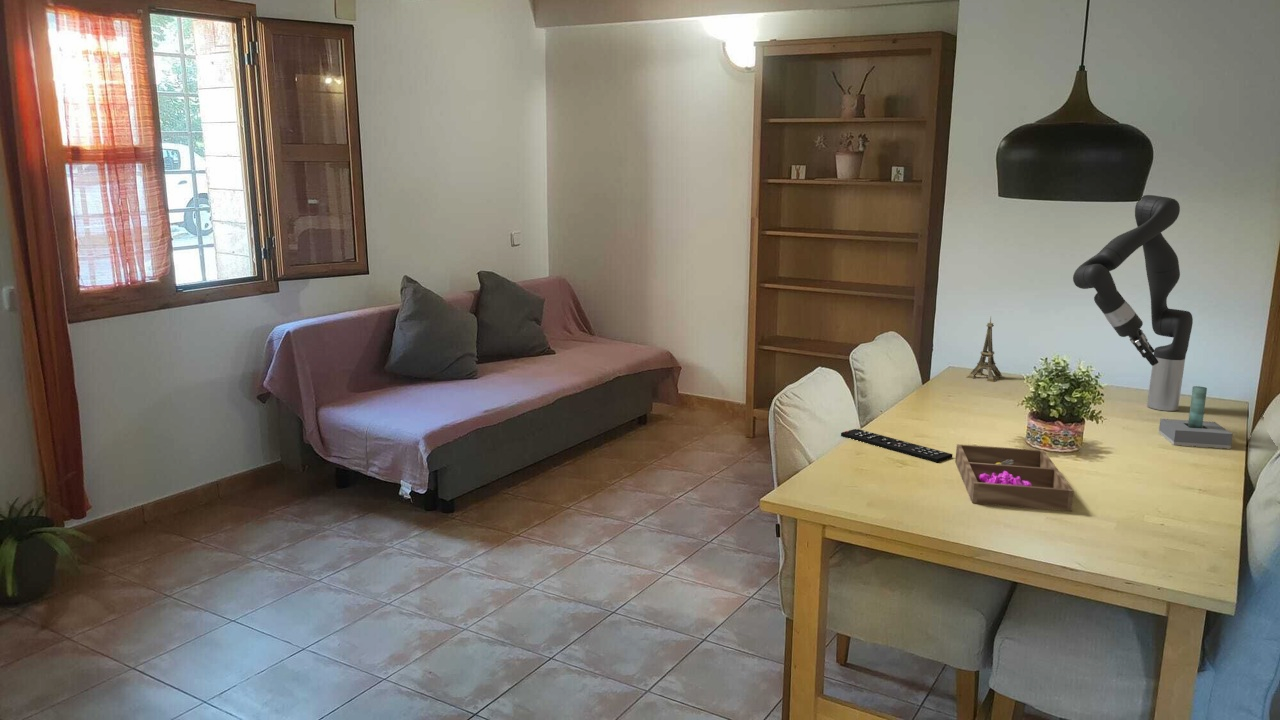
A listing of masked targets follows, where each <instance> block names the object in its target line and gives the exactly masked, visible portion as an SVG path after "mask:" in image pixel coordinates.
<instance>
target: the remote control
mask: <svg viewBox="0 0 1280 720" xmlns="http://www.w3.org/2000/svg"><path fill="white" fill-rule="evenodd" d="M840 437H841V438H846V439H849V438H851V439H850V440H853V439H854V440H853V441H856V440H858V441H857V442H860V441H861V442H860V443H863V442H864V444H867V443H868V444H867V445H872V446H874V445H875V447H878V446H879V447H878V448H881V447H882V449H886V450H889V451H893V452H897V453H900V454H903V455H908V456H910V457H914V458H917V459H921V460H924V461H928V462H932V463H935V464H938V463H942V462H944V461H946V460H950V459H952V458H953V453H950V452H946V451H943V450H938V449H934V448H931V447H927V446H924V445H920V444H916V443H911V442H908V441H904V440H900V439H897V438H892V437H890V436H887V435H883V434H879V433H874V432H869V431H867V430H863V429H860V428H854V429H850V430H845V431H842V432H840Z"/></svg>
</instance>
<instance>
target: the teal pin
mask: <svg viewBox="0 0 1280 720" xmlns="http://www.w3.org/2000/svg"><path fill="white" fill-rule="evenodd" d="M1207 391H1208V388H1207V387H1205V386H1201V385H1198V386H1197V385H1196V386H1192V390H1191V397H1190V405H1189V415H1188V420H1189V421H1188V427H1189V428H1202V425H1203V421H1204V417H1205V408H1206V399H1207Z"/></svg>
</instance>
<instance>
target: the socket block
mask: <svg viewBox="0 0 1280 720" xmlns="http://www.w3.org/2000/svg"><path fill="white" fill-rule="evenodd" d="M1188 421H1189V419H1174V418H1160V419H1159V426H1158V434H1159V433H1160V434H1159V435H1161V436H1162V437H1163V438H1164V439H1165V440H1166V441H1168V442H1169V443H1170V444H1171V443H1172V444H1171V445H1173V446H1178V445H1182V446H1181V447H1193V446H1196V447H1197V448H1208V447H1215V448H1214V449H1222V448H1227V449H1226V450H1231V446H1232V442H1233V433H1232V432H1231V431H1230V430H1227V429H1226V428H1225V427H1223V426H1221V424H1219V423H1217V422H1216V421H1209V420H1208V421H1205V420H1203V425H1202V428H1189V427H1188Z"/></svg>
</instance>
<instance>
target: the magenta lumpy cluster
mask: <svg viewBox="0 0 1280 720" xmlns="http://www.w3.org/2000/svg"><path fill="white" fill-rule="evenodd" d="M1000 477H1002V479H1001V478H1000ZM988 478H990V476H989V475H987V474H985V473H984V474H981V475H980V476H979V479H980V480H981V481H982V482H984V483H996V484H1009V482H1011V483H1010V484H1009V485H1022V486H1032V484H1031V483H1030V482H1028V481H1022V483H1020V481H1021V478H1020V476H1017V477H1016V478H1014V477H1013V475H1012V474H1010V475H1009V473H1008V472H1007V471H1004V472H1003V473H1001V474H999V475H998V476H997V475H996V473H993V474H992V475H991V479H989V480H988ZM1009 478H1011V479H1009ZM1001 482H1002V483H1001Z"/></svg>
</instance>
